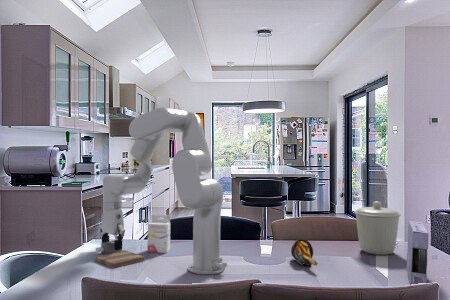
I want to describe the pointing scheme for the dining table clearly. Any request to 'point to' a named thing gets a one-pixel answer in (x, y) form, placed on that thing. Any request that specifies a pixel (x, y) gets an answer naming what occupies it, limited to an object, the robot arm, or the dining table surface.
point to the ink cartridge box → (159, 234)
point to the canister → (377, 229)
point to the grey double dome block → (108, 247)
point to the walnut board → (119, 259)
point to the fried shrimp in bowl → (303, 252)
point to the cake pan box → (417, 252)
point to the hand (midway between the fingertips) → (111, 247)
